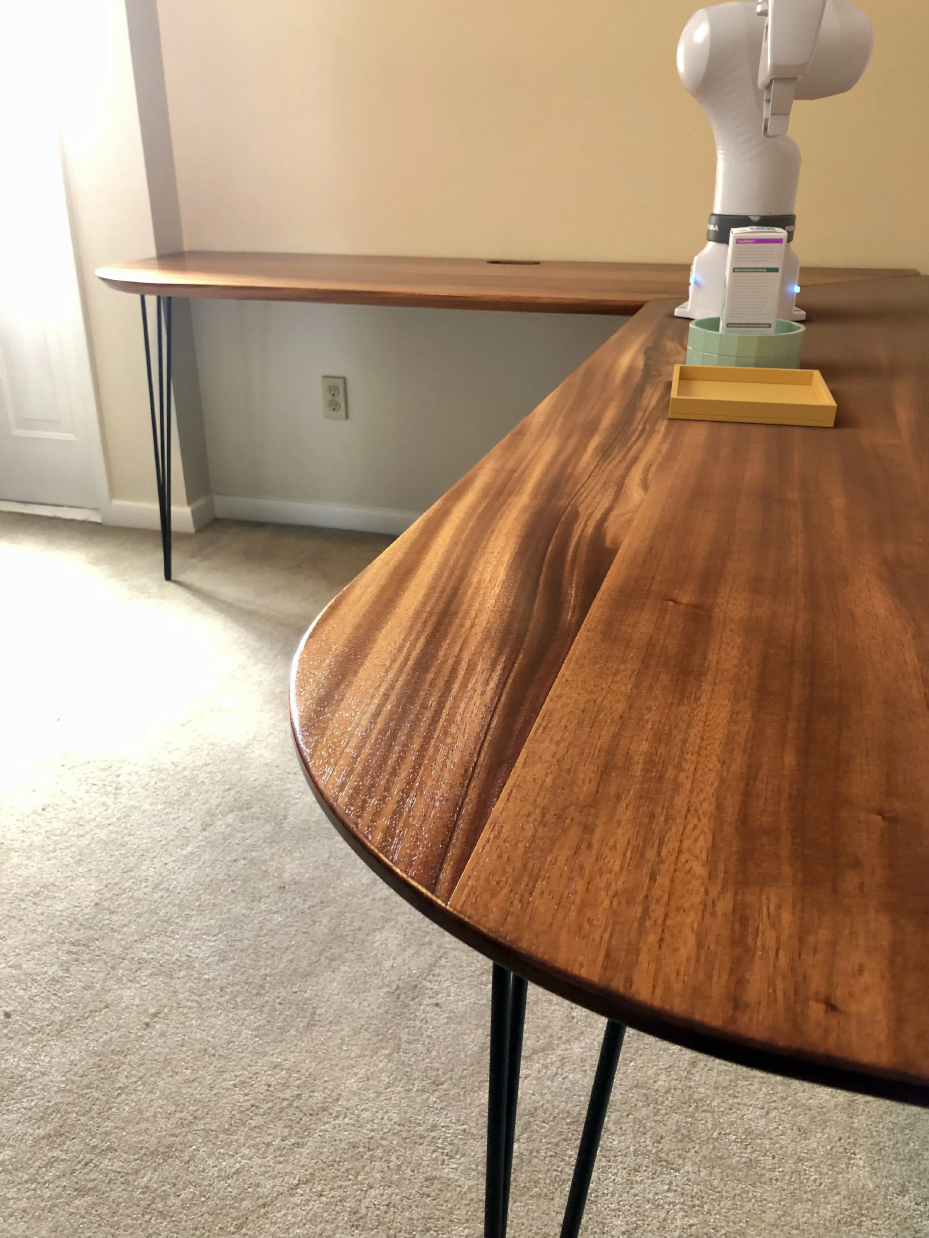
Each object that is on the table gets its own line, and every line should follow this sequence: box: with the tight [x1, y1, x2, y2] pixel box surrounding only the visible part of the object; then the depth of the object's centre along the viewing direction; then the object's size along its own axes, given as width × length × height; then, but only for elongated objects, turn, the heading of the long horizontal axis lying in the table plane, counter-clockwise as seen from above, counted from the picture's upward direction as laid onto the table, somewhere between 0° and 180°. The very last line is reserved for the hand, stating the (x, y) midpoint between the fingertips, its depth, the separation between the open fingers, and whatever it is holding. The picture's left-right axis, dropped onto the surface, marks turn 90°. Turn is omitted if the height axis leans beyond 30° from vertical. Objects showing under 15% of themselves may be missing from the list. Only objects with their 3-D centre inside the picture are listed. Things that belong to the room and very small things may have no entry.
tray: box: [667, 363, 838, 428], centre depth 88 cm, size 15×15×2 cm
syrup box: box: [719, 227, 788, 335], centre depth 97 cm, size 6×6×14 cm
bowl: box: [684, 316, 807, 369], centre depth 100 cm, size 12×12×5 cm
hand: (773, 136), depth 90 cm, fingers open, 8 cm apart
